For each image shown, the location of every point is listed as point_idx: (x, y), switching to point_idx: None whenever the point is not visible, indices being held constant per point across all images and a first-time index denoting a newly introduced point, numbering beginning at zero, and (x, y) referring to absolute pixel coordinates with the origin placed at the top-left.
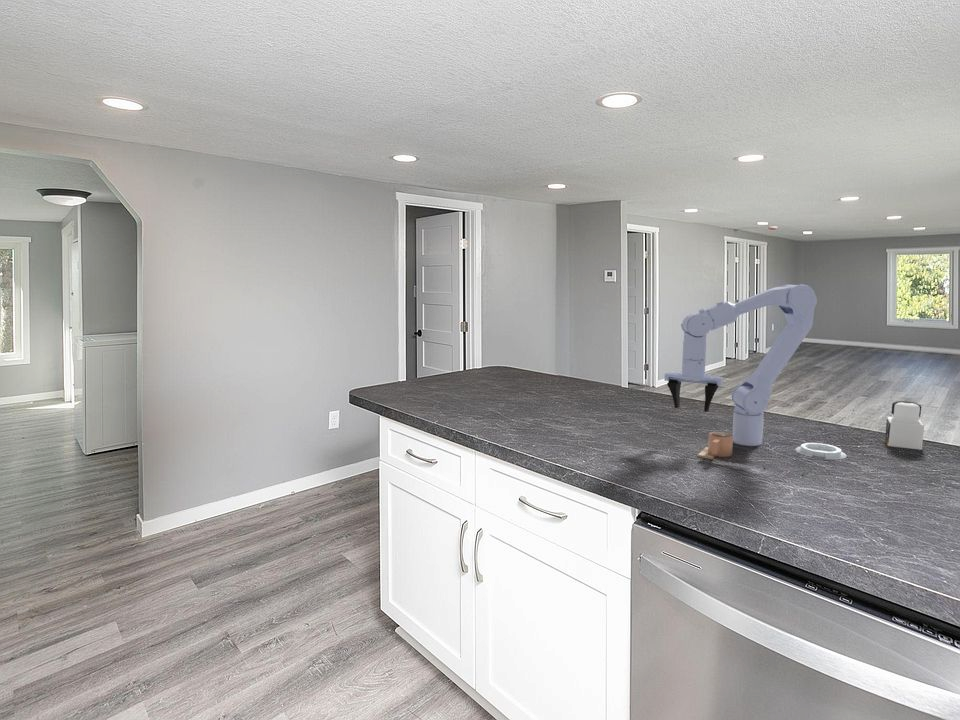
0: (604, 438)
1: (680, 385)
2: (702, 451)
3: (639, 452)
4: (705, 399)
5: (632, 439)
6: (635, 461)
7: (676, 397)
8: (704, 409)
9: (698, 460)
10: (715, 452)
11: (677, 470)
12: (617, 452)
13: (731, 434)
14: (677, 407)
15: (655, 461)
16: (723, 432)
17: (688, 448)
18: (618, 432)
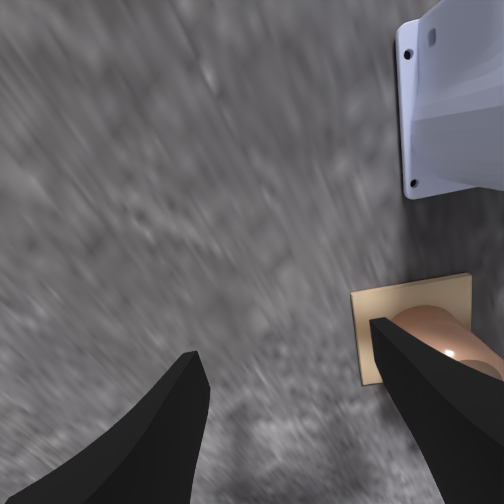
0: (55, 396)
1: (119, 479)
2: (362, 347)
3: (216, 439)
4: (424, 451)
5: (114, 353)
6: (253, 494)
7: (193, 466)
8: (381, 375)
9: (375, 404)
10: None
11: (362, 490)
12: None
13: (501, 359)
14: (207, 386)
15: (289, 471)
16: (462, 352)
17: (301, 324)
18: (21, 314)
